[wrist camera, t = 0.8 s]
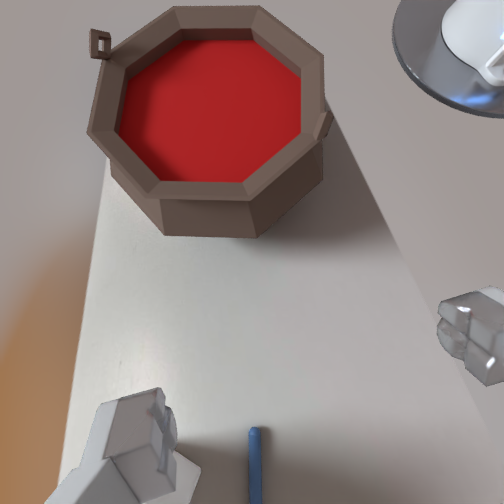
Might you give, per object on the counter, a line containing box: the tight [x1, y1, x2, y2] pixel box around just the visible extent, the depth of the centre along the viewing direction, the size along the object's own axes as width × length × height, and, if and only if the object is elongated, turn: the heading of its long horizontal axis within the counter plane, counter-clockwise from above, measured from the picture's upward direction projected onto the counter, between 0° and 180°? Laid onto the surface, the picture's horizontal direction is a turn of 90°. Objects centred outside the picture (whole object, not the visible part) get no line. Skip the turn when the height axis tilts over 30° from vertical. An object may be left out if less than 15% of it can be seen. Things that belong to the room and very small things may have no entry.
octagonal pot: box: [87, 6, 334, 238], centre depth 32 cm, size 24×24×16 cm
